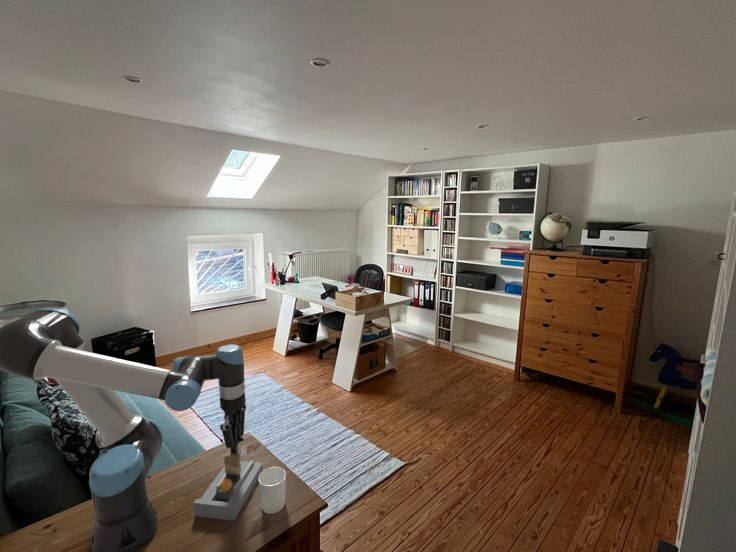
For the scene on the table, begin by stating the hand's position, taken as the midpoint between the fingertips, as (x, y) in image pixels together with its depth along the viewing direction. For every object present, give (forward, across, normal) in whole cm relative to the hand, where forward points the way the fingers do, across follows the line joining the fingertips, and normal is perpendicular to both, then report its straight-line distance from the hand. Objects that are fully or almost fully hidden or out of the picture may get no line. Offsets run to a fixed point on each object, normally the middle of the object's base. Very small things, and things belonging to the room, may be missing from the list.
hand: (236, 461), depth 117 cm
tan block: (+4, -3, 0) cm, 5 cm away
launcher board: (+7, -5, 0) cm, 9 cm away
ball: (+2, -8, 0) cm, 8 cm away
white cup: (+7, -8, -15) cm, 19 cm away
